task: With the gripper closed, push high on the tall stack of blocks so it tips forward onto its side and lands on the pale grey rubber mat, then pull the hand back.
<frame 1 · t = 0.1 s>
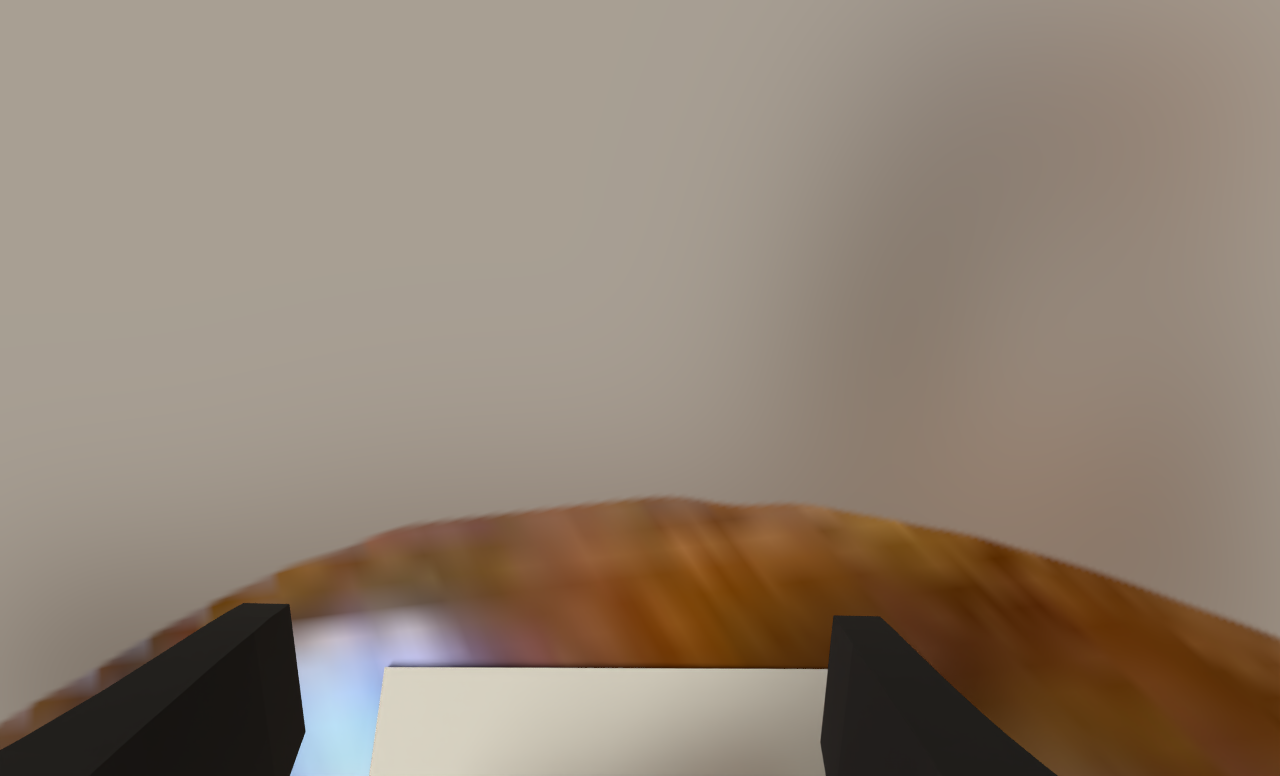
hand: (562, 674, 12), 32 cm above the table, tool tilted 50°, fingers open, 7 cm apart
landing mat: (611, 758, 41), on the table
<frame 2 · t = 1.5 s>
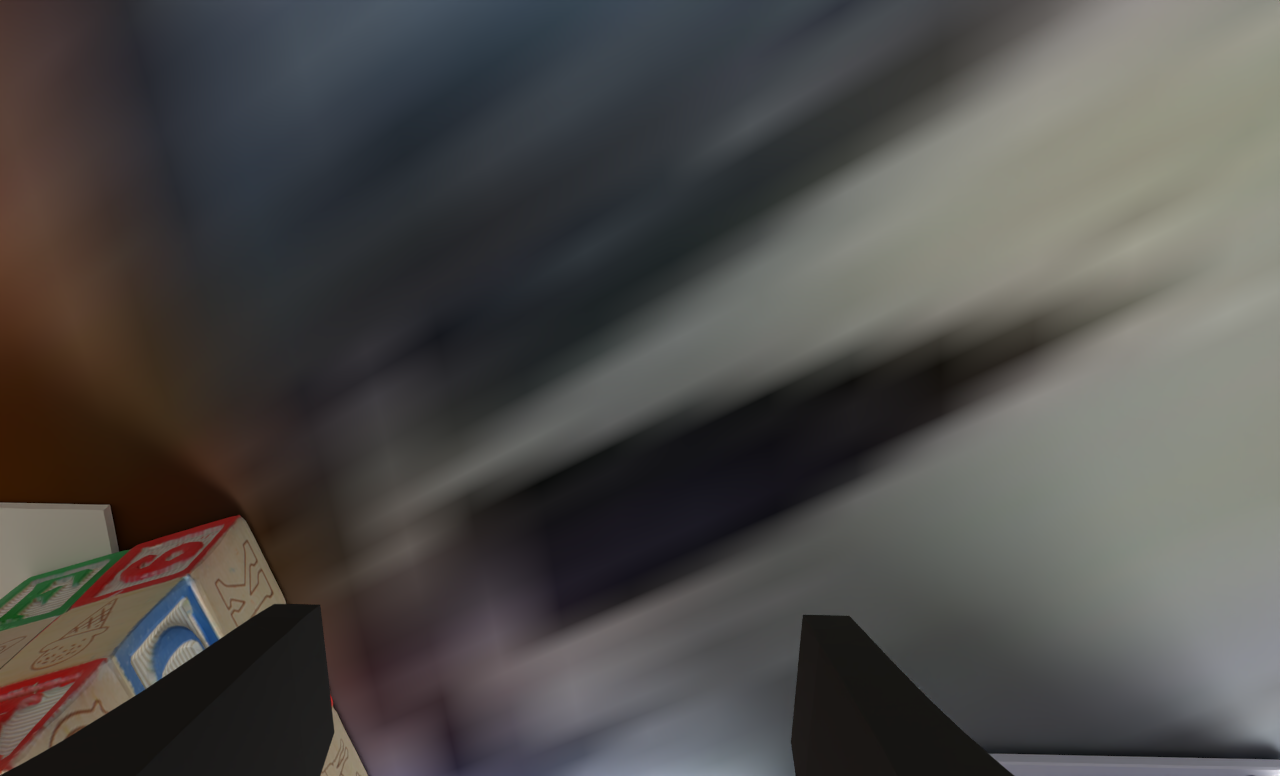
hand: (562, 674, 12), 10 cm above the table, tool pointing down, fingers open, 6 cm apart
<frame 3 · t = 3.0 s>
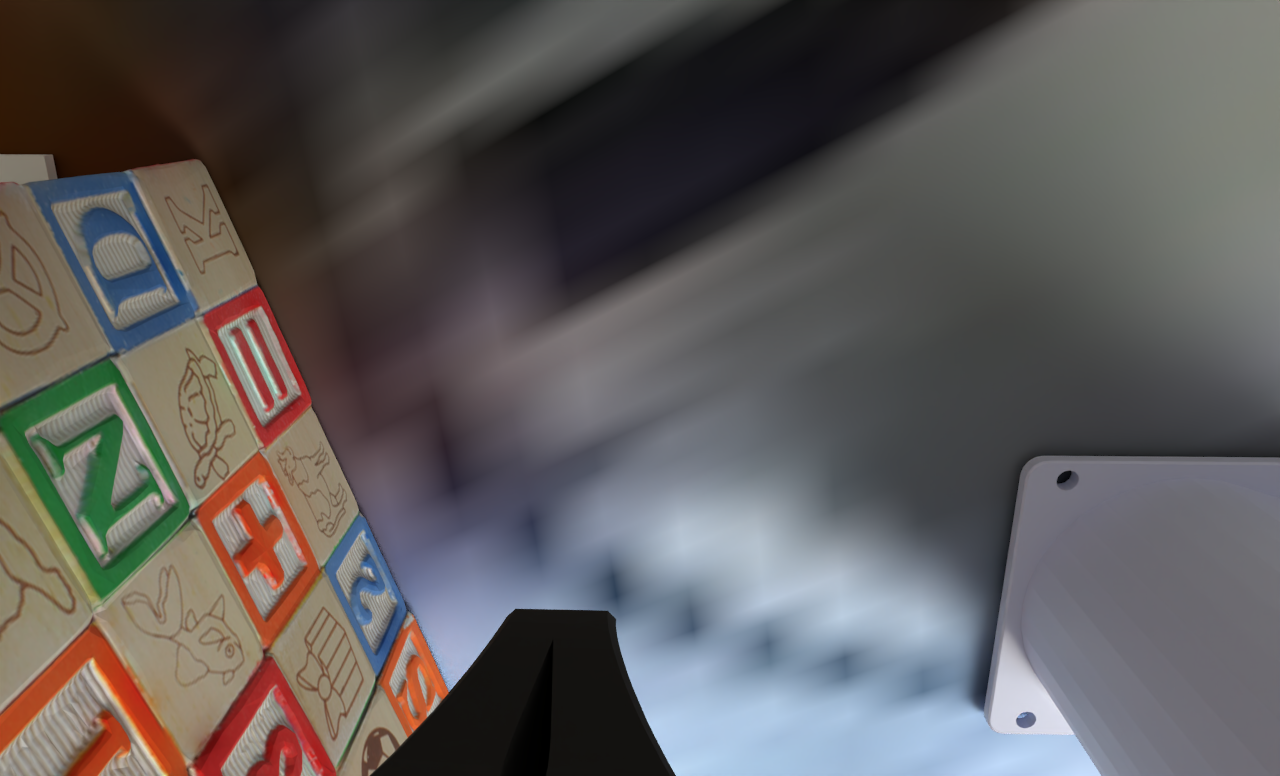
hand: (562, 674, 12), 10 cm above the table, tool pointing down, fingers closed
stack of blocks: (284, 585, 23), on the table, touching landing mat
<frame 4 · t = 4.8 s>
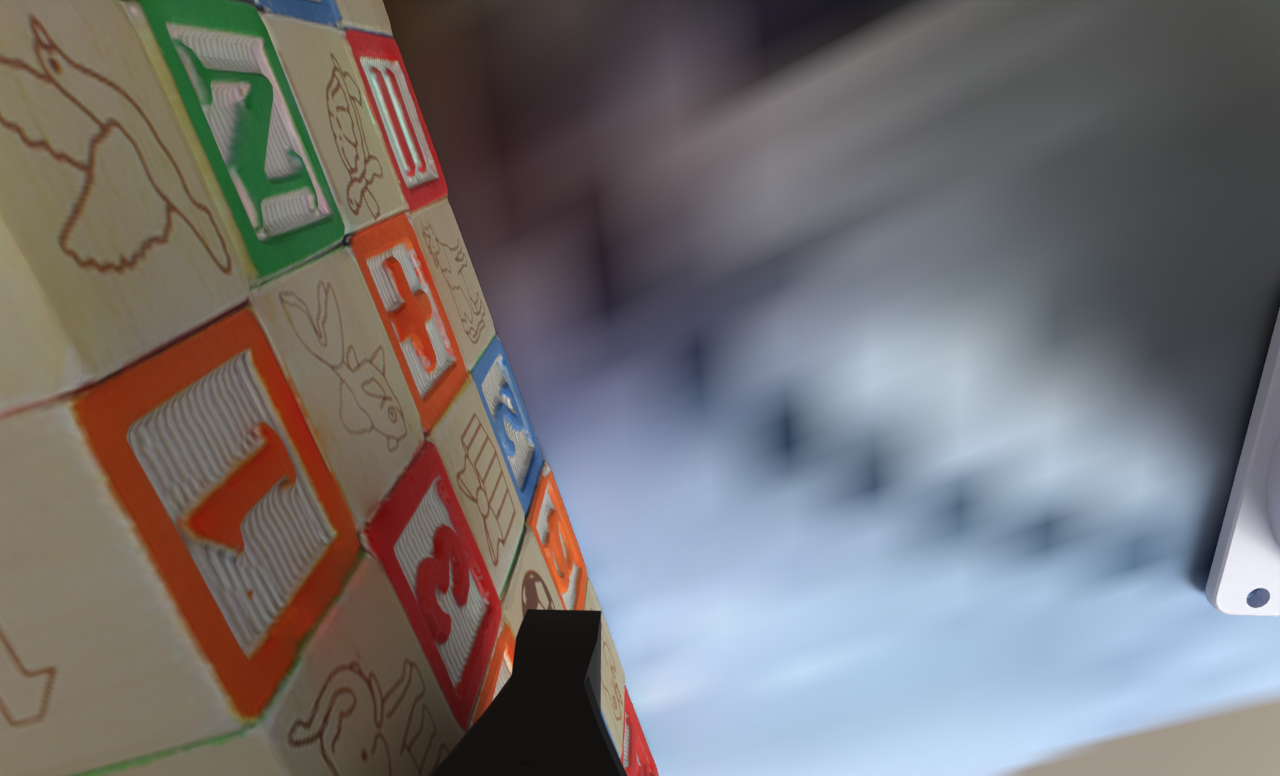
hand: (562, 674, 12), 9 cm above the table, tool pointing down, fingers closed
stack of blocks: (398, 427, 20), on the table, touching gripper, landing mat
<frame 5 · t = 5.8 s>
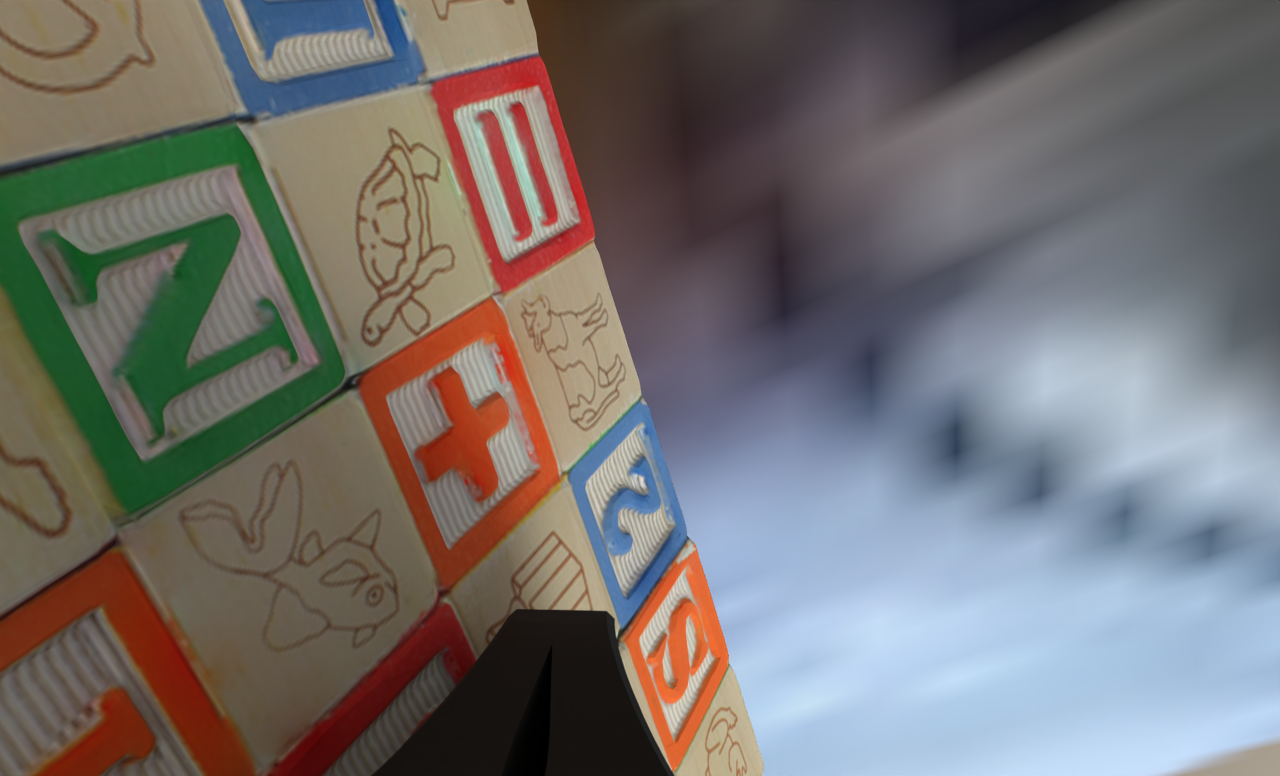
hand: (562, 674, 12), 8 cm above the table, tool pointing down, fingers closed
stack of blocks: (549, 465, 18), point 1 cm above the table, touching gripper, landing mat
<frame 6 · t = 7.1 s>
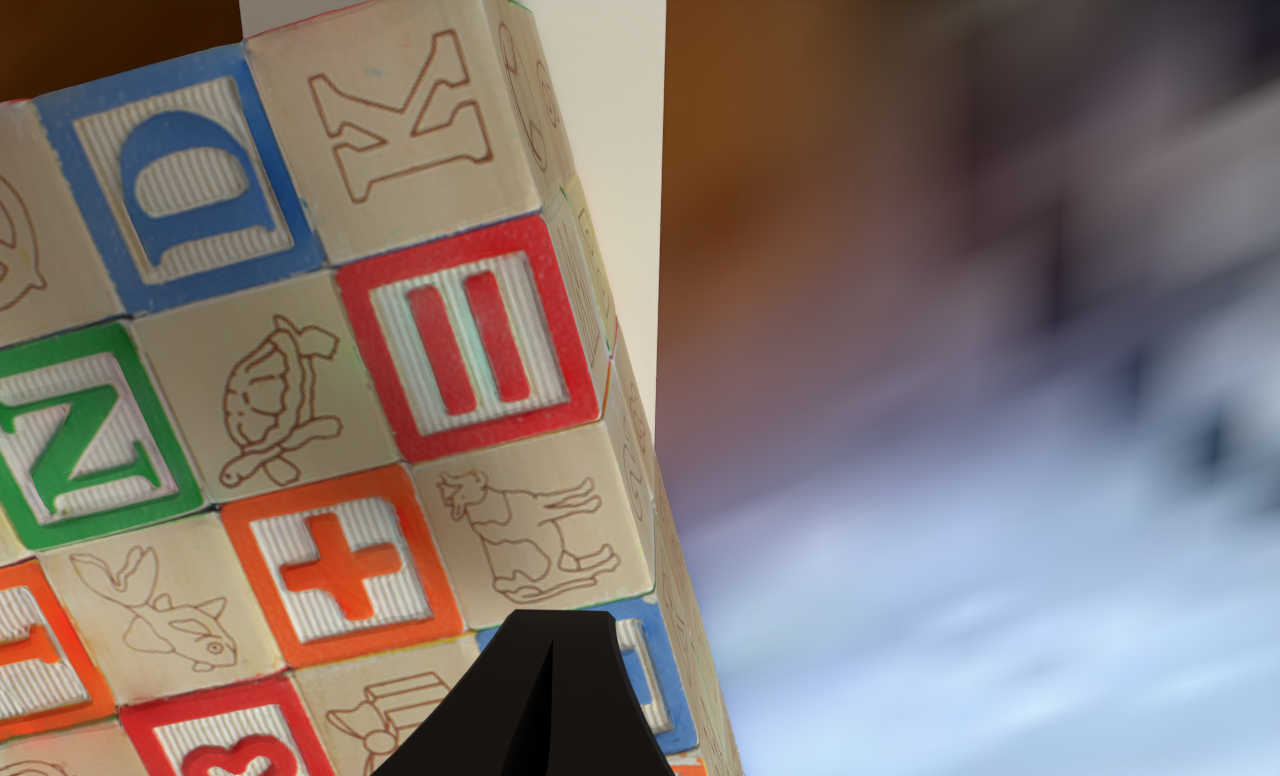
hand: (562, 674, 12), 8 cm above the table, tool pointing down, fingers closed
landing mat: (474, 432, 20), on the table
stack of blocks: (689, 570, 17), point 3 cm above the table, touching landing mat
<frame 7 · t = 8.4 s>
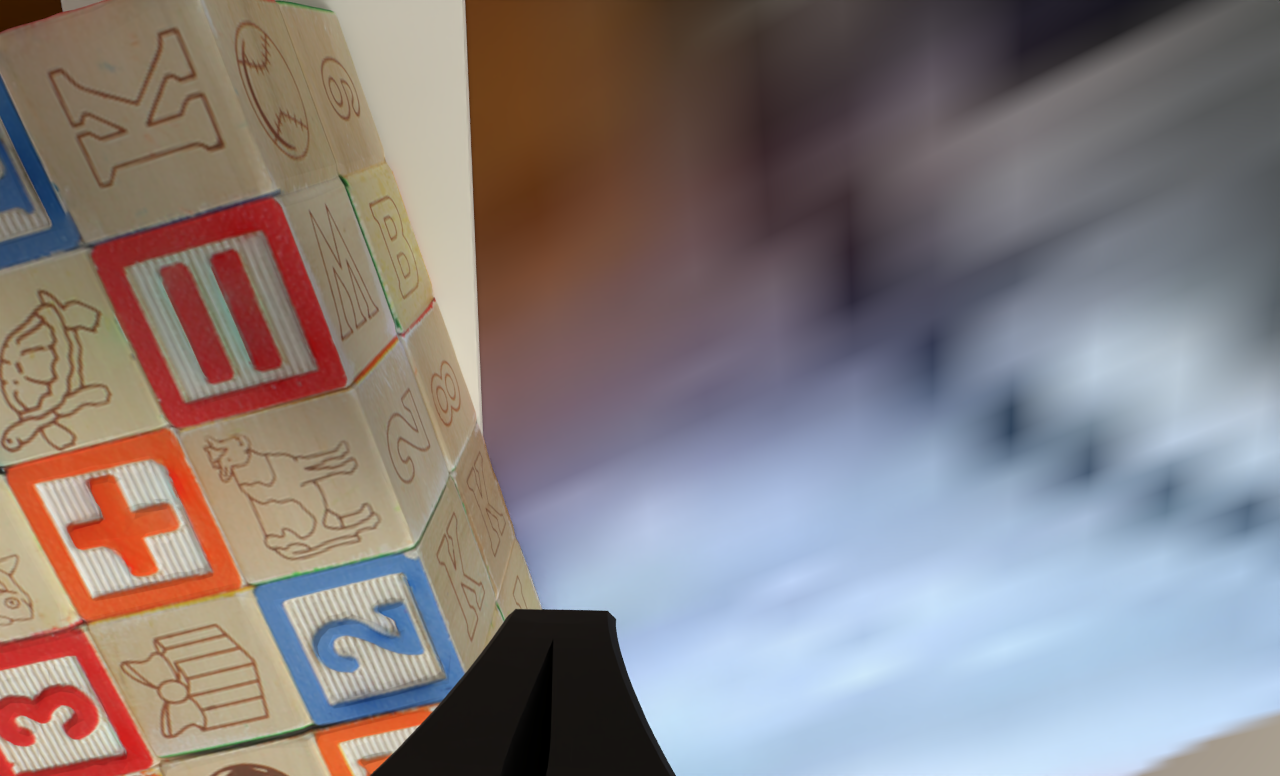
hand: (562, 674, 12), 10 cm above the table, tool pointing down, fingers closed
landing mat: (311, 410, 21), on the table
stack of blocks: (489, 536, 18), point 3 cm above the table, touching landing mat
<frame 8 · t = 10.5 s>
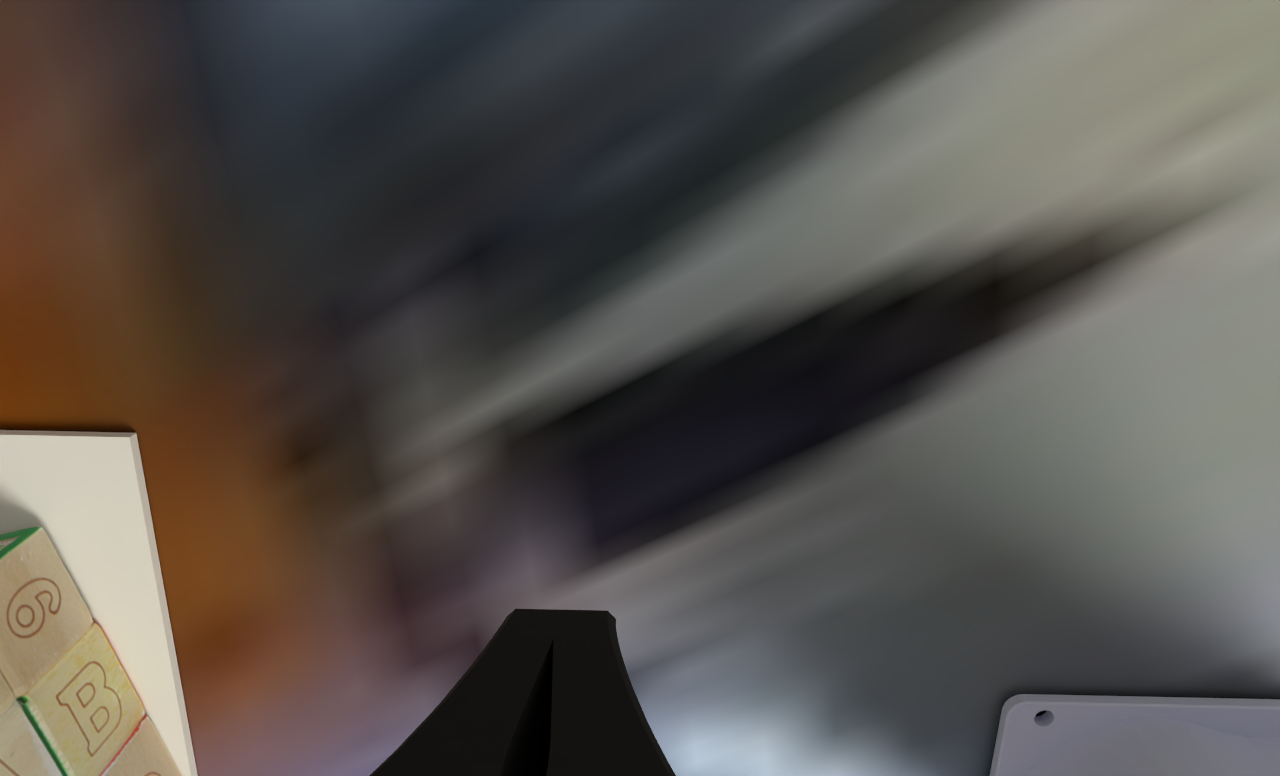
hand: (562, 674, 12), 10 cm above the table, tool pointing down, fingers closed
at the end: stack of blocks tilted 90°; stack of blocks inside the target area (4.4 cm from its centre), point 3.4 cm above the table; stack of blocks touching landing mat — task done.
